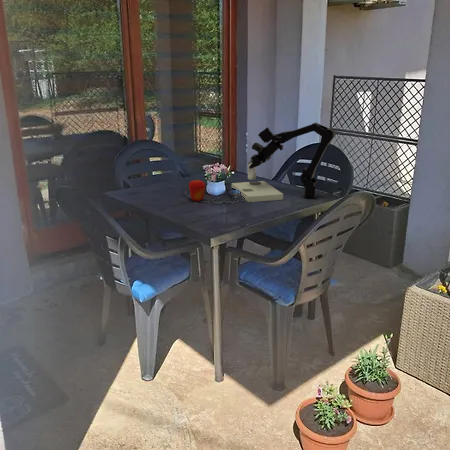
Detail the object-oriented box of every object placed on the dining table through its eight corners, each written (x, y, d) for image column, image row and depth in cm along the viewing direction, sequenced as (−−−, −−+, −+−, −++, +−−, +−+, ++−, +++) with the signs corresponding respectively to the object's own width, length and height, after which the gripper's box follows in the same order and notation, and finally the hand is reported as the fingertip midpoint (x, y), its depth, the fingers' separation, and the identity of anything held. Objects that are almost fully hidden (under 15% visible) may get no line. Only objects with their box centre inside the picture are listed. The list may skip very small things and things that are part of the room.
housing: (283, 199, 266) (283, 193, 265) (248, 202, 260) (248, 196, 259) (263, 186, 293) (263, 180, 292) (231, 188, 288) (231, 182, 287)
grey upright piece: (256, 179, 279) (256, 158, 275) (247, 179, 279) (247, 158, 275) (256, 177, 284) (256, 157, 280) (247, 177, 284) (247, 156, 280)
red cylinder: (208, 199, 264) (208, 178, 260) (197, 203, 258) (196, 181, 254) (197, 196, 270) (197, 175, 266) (185, 199, 264) (185, 178, 260)
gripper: (266, 135, 280) (247, 153, 288) (255, 140, 264) (235, 159, 272) (279, 150, 280) (260, 168, 287) (268, 156, 264) (248, 174, 271)
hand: (251, 167), depth 279 cm, fingers closed on grey upright piece, 5 cm apart
